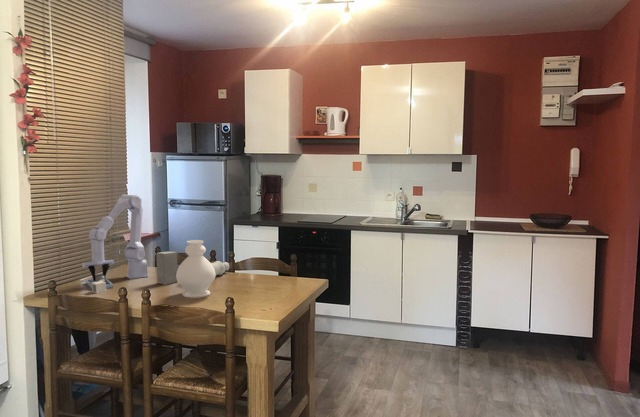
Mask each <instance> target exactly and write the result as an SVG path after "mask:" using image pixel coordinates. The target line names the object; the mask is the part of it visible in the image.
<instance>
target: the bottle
mask: <svg viewBox="0 0 640 417" xmlns="http://www.w3.org/2000/svg"><path fill="white" fill-rule="evenodd" d="M210 263H211V264H212V266H213V267H214V270H215V277H216V276H221V275H223V274H224V273H225V271H229V269H230V263H229V262H227V261H224V262H222V261H220V260H216V261H214V262H210Z"/></svg>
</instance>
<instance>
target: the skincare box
mask: <svg viewBox="0 0 640 417" xmlns="http://www.w3.org/2000/svg"><path fill="white" fill-rule="evenodd" d="M177 270H178V253H177V251H171V250H170V251H161V252H156V276H157V284H160V285H164V286H166V285H171V284H175V283H178V281H177V279H176V273H177Z"/></svg>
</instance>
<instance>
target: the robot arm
mask: <svg viewBox="0 0 640 417" xmlns="http://www.w3.org/2000/svg"><path fill="white" fill-rule="evenodd" d="M124 210H128V211H129V212H130V213H131V215H130V216H131V218H130V231H129V242H128V243H127V244H126V245H125V246H126V248H125V249H124V252H123V253H124V257H125V259H126V260H127V274H126V275H125V277H126V278H128V279H129V280H130V279H131V280H132V279H140V278H141V279H142V278H146V277H149V275H148V262H147V259H145V256H146V251H145V246H144V245H143V243H142V241H141V240H142V228H143V227H142V226H143V225H142V224H143V211H144V210H143V206H142V198H141V197H140V196H139V195H137V194H125V193H123V194H121V195H120V197H119V198H118V199H117V202H116V204H115V206H114V207H113V208H112V209H111V211H110V213H109V214H107V216H104V217H102V218H101V219H100V221H99V222H98V223H97V224H96V225H95V227H94V228H92V229H90V231H89V233H88V235H87V237H88V239H89V240H90V246H91V247H90V248H91V249H90V250H91V261H87V262H82V263H81V266H82V268H88V270H89V272H90V273H91V276H92V277H91V278H92V279H93V281H95V274H96V268H95V266H97V267H98V266H101V269H102V274H103V275H104V276H105V277H107V276H106V275H107V273H108V270H109V268H110V265H115V260H114V259H105V245H104V244H105V241H104V240H105V239H106V238H107V234H108V231H109V230H110V229H111V228H112V227H113V226H114V224H115V223H114V220H116V218H117V217H118V216H119V215H120V214H121V213H122V211H124Z"/></svg>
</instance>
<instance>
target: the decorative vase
mask: <svg viewBox="0 0 640 417" xmlns="http://www.w3.org/2000/svg"><path fill="white" fill-rule="evenodd" d="M186 244H187V246H186V247H185V248H184V252H185V254H186V255H188V256H187V257H186V258H185V259H184V260H183V261H181V263H180V265H179V266H178V267H177V273H176V279H177V281H178V282H177V283H178V284H179V285H180V287H182V289H183V290H184V292H182V296H183V297H185V298H189V299H190V298H191V299H192V298H193V299H194V298H196V299H197V298H203V297H207V296H210V295H211V292H210V290H208V289H209V288H210V286H211V285H212V284H213V282H214V280H215V278H216V276H215V270H214V267H213V266H212V264H211V263H212V262H210V261H209V260H208V259H207V258H206V257H205V256H204V254H205V253H206V251H207V248H206V247H205V245H203V244H204V240H202V239H201V240H200V239H192V240H187V241H186Z"/></svg>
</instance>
